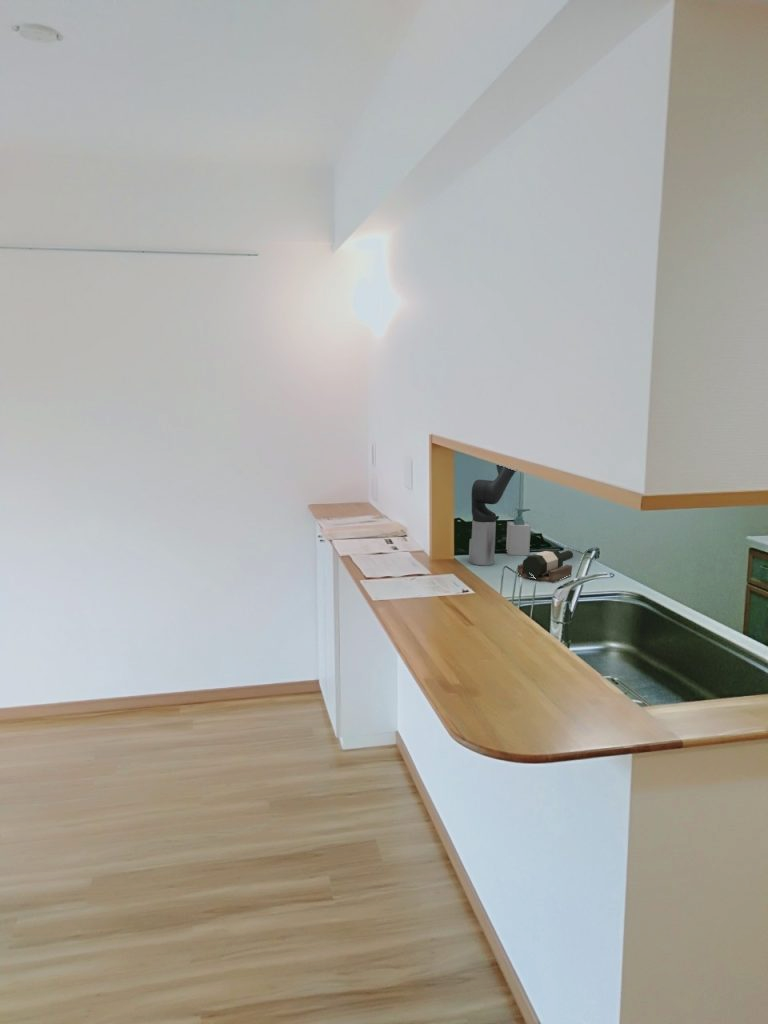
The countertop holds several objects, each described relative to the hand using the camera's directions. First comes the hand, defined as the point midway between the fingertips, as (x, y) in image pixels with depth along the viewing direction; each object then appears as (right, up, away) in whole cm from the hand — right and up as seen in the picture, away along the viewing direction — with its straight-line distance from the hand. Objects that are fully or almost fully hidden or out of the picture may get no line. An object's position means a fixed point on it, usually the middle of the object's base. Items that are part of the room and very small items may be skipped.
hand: (556, 477), depth 308 cm
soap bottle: (-11, -31, +27) cm, 42 cm away
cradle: (-6, -37, -10) cm, 39 cm away
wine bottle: (-13, -33, -18) cm, 40 cm away
